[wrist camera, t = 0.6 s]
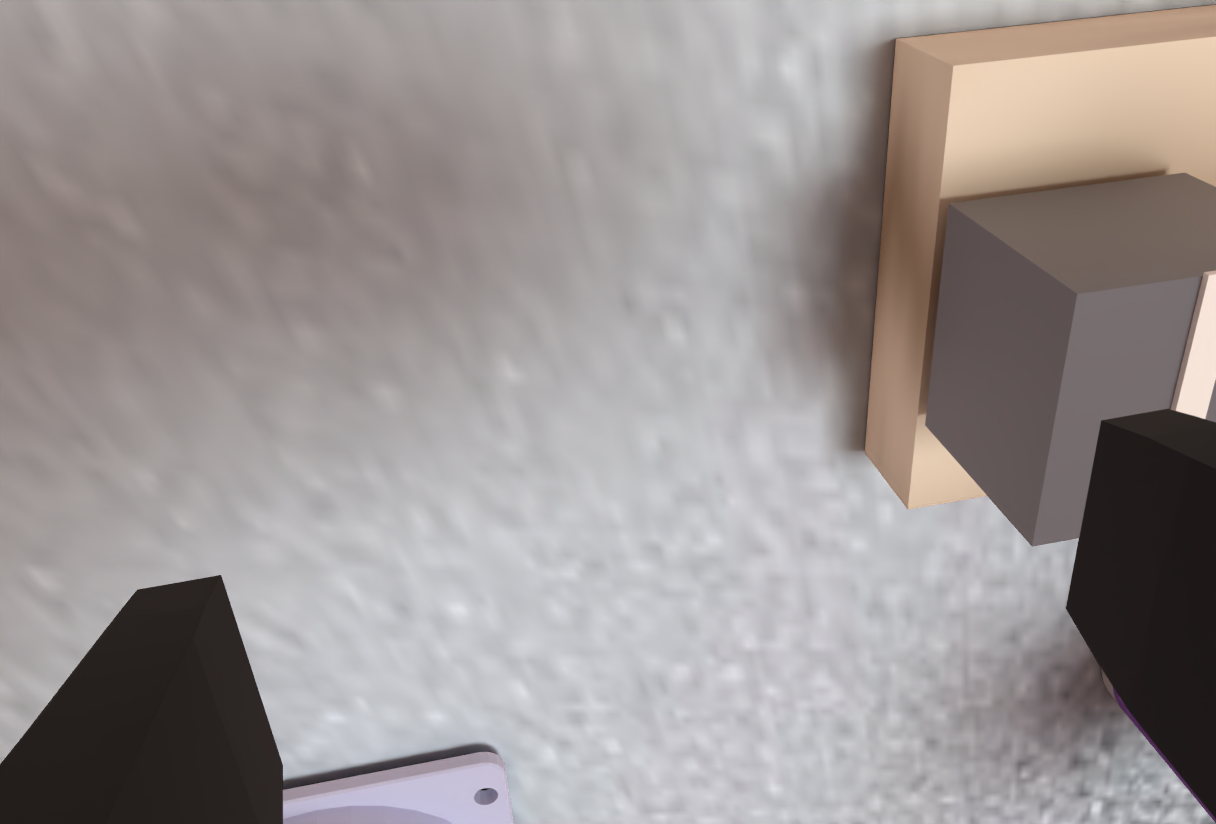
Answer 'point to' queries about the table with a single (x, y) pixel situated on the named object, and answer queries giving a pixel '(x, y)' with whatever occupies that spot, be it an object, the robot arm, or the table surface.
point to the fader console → (1014, 174)
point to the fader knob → (1069, 333)
